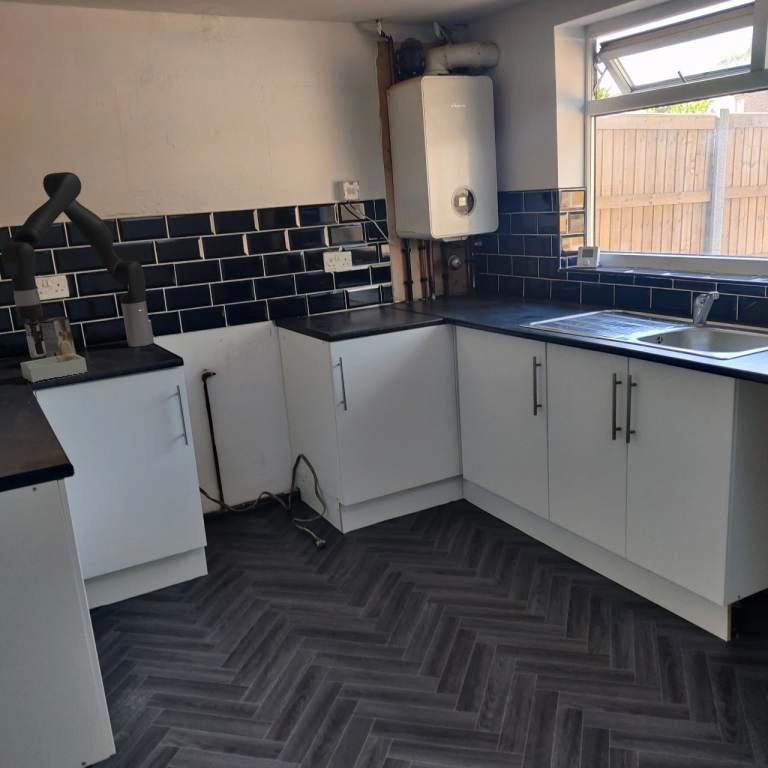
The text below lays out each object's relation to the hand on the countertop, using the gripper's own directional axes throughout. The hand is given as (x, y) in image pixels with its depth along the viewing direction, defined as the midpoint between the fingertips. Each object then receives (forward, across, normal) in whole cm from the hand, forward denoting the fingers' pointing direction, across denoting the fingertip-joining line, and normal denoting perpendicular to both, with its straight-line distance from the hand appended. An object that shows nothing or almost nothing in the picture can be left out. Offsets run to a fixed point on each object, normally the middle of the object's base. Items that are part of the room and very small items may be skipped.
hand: (38, 352), depth 245 cm
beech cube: (+8, 0, -8) cm, 12 cm away
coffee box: (+9, +21, -12) cm, 26 cm away
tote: (+9, 0, -4) cm, 9 cm away
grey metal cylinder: (+1, 0, 0) cm, 1 cm away
